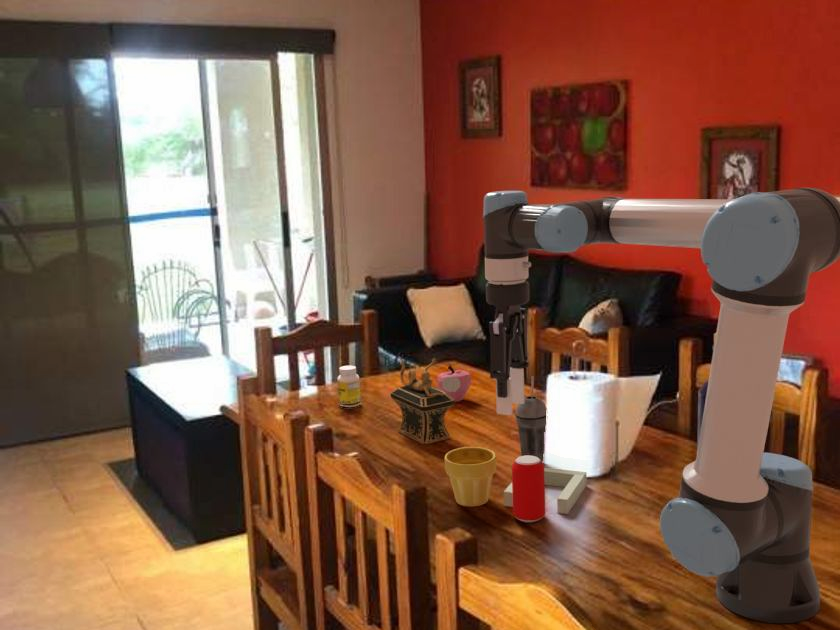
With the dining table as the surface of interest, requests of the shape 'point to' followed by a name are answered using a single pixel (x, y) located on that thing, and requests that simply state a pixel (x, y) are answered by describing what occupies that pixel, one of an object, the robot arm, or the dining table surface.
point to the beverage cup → (531, 425)
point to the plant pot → (471, 474)
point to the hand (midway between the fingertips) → (510, 408)
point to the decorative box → (422, 407)
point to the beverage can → (528, 488)
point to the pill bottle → (348, 387)
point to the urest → (562, 478)
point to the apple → (454, 383)
